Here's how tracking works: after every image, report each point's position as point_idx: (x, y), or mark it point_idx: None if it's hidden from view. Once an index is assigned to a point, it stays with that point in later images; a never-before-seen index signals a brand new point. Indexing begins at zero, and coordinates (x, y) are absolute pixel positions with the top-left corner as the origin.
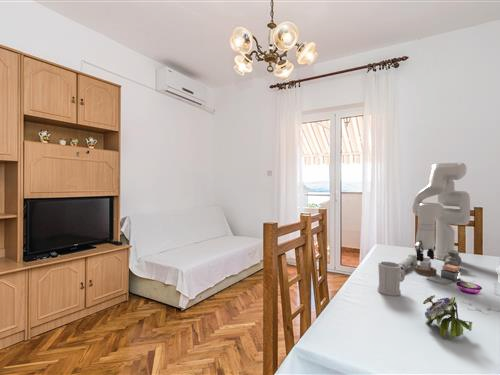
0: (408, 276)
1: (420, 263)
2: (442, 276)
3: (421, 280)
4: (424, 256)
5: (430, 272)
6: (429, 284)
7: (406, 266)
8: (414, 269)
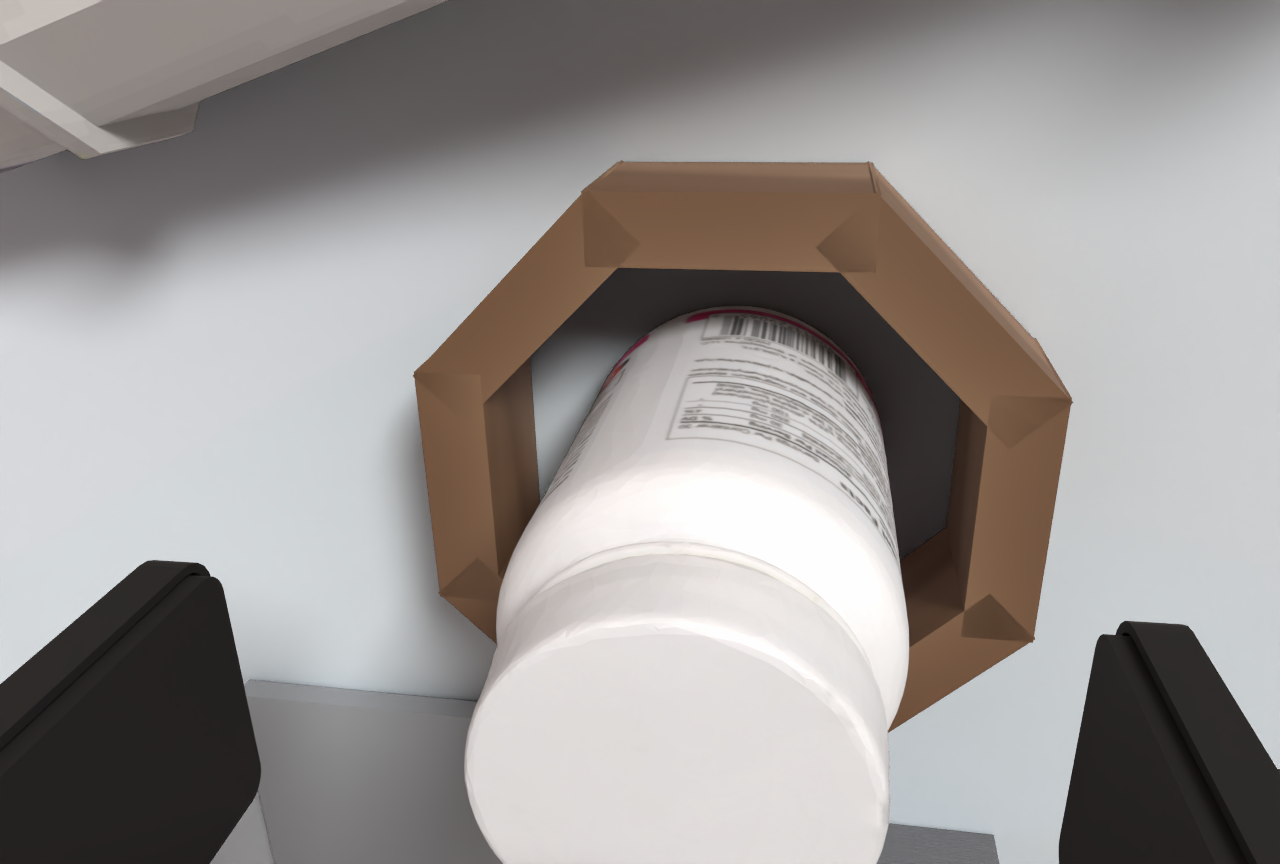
0: (10, 366)
1: (564, 470)
2: None
3: None
4: (685, 750)
5: None
6: None
7: (201, 86)
8: (609, 169)
